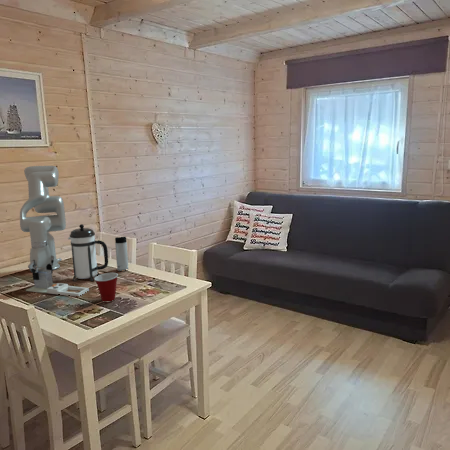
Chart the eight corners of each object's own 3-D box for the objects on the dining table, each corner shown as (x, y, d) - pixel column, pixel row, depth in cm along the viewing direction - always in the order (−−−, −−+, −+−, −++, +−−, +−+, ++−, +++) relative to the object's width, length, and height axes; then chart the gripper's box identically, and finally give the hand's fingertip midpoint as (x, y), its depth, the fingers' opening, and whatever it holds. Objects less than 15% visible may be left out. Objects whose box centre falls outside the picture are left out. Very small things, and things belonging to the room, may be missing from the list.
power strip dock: (58, 287, 204) (57, 281, 203) (88, 290, 199) (88, 285, 198) (47, 293, 196) (46, 287, 196) (78, 296, 191) (78, 290, 191)
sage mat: (43, 282, 211) (42, 281, 211) (62, 284, 208) (62, 283, 208) (25, 290, 200) (25, 289, 200) (45, 293, 197) (45, 292, 197)
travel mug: (118, 272, 227) (116, 238, 223) (116, 269, 232) (113, 235, 228) (129, 270, 229) (127, 236, 225) (126, 267, 235) (124, 234, 231)
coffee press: (78, 285, 207) (73, 228, 201) (67, 278, 218) (62, 224, 212) (110, 277, 218) (106, 224, 212) (97, 271, 230) (93, 220, 223)
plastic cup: (100, 295, 192) (98, 271, 190) (122, 295, 192) (121, 271, 189) (92, 304, 182) (90, 279, 179) (116, 304, 181) (114, 279, 179)
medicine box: (53, 286, 205) (51, 269, 203) (47, 289, 201) (45, 272, 199) (40, 284, 207) (38, 268, 205) (34, 287, 203) (32, 271, 201)
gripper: (45, 239, 209) (48, 270, 212) (20, 248, 192) (24, 281, 196) (57, 240, 206) (60, 271, 210) (33, 249, 190) (36, 283, 194)
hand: (43, 276), depth 203 cm, fingers open, 9 cm apart
